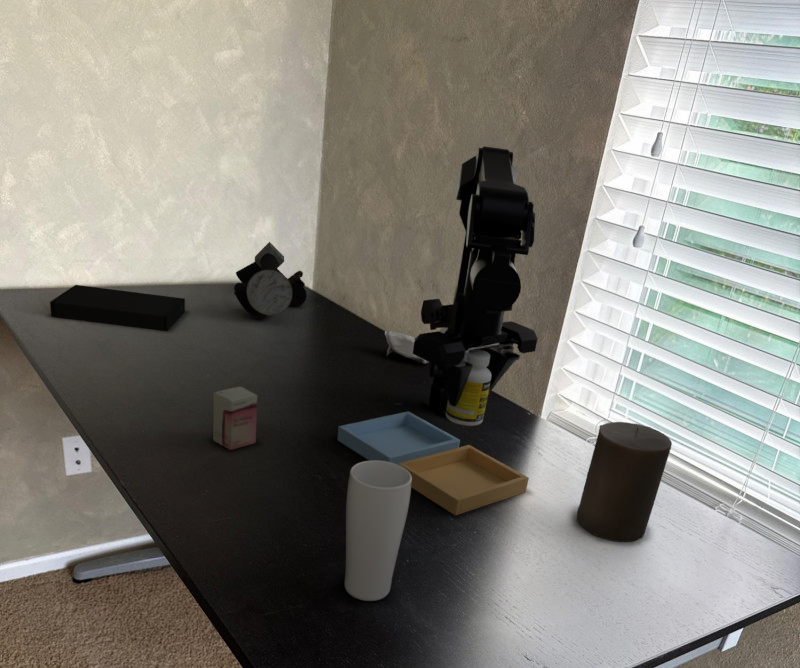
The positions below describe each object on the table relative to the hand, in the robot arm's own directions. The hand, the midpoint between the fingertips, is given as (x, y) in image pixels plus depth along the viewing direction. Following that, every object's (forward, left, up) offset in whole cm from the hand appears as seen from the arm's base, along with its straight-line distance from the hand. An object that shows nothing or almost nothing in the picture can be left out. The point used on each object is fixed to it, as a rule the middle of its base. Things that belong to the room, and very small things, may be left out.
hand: (467, 402), depth 114 cm
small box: (+22, -25, -13) cm, 36 cm away
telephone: (-22, -84, -13) cm, 88 cm away
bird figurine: (-30, -44, -13) cm, 55 cm away
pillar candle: (-11, +21, -13) cm, 27 cm away
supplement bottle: (0, 0, -3) cm, 3 cm away
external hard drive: (+11, -89, -13) cm, 91 cm away
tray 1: (0, -13, -12) cm, 18 cm away
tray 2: (0, +2, -12) cm, 13 cm away
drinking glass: (+29, +16, -13) cm, 35 cm away
